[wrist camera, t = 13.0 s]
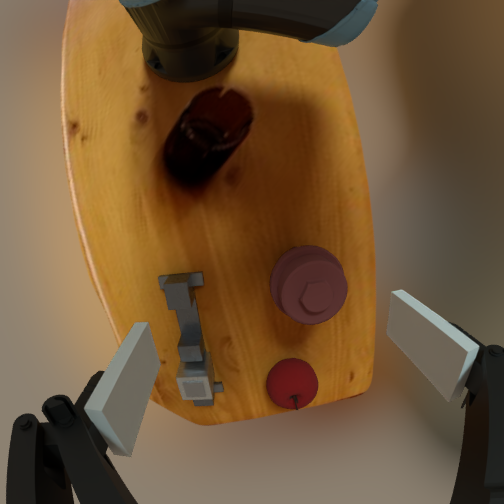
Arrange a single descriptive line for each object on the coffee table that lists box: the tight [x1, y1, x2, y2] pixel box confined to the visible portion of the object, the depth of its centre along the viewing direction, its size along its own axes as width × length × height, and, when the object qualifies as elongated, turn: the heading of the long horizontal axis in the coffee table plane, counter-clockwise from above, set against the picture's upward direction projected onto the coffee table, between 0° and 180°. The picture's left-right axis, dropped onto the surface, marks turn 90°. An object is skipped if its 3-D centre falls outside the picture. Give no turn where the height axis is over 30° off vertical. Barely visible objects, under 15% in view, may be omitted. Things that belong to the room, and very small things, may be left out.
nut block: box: [176, 352, 214, 400], centre depth 42 cm, size 5×5×7 cm
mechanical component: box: [270, 245, 347, 325], centre depth 37 cm, size 12×10×10 cm
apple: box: [266, 358, 318, 410], centre depth 43 cm, size 9×9×10 cm
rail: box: [158, 271, 224, 406], centre depth 43 cm, size 24×7×4 cm, turn 5°
